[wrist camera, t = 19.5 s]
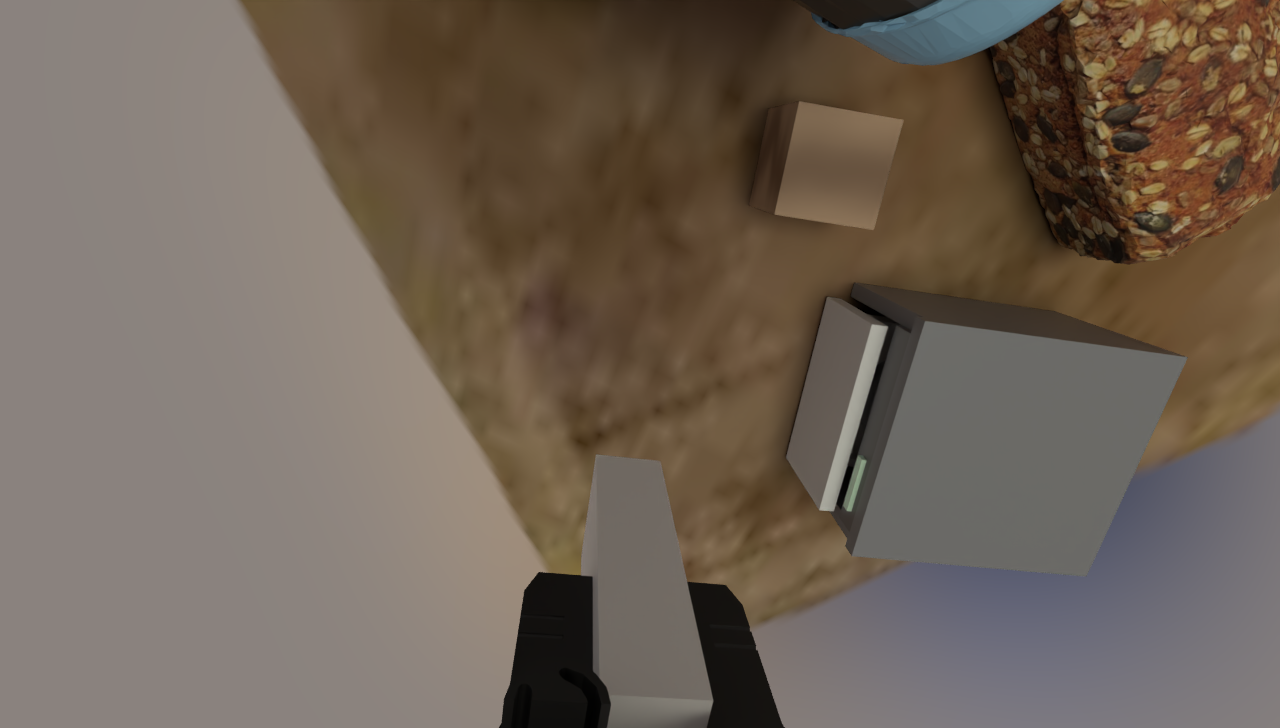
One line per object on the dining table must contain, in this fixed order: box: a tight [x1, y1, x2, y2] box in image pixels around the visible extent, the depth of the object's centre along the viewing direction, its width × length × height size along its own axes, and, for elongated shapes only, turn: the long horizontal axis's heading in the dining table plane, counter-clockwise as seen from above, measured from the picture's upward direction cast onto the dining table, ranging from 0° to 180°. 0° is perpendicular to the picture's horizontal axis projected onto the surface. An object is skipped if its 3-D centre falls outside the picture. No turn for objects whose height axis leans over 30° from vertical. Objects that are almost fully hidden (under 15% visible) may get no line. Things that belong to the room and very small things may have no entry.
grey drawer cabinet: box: [830, 283, 1188, 576], centre depth 41 cm, size 15×16×10 cm
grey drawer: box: [786, 297, 902, 511], centre depth 42 cm, size 13×16×7 cm
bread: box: [990, 0, 1280, 264], centre depth 35 cm, size 19×11×10 cm, turn 31°
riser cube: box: [749, 101, 903, 230], centre depth 37 cm, size 6×6×6 cm
